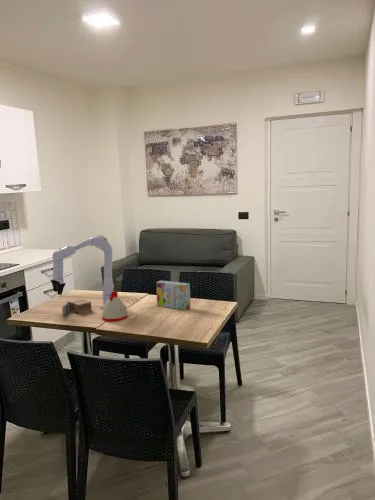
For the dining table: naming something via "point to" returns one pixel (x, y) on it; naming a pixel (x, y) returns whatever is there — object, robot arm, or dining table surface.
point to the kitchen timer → (114, 309)
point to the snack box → (173, 294)
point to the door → (65, 308)
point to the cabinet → (80, 306)
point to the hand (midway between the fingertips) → (57, 293)
